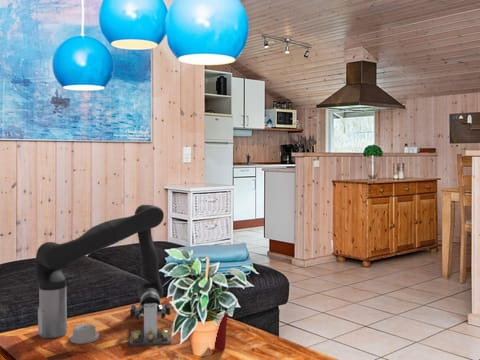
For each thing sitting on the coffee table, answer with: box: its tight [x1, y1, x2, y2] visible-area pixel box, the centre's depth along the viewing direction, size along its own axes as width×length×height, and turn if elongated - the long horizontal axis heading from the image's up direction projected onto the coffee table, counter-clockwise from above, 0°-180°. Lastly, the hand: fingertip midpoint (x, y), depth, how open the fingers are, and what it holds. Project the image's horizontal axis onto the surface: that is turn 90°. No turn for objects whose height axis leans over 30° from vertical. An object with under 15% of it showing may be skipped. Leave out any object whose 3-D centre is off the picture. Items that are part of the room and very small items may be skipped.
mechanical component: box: [69, 323, 100, 345], centre depth 178 cm, size 10×4×10 cm
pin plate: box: [129, 328, 172, 347], centre depth 178 cm, size 14×12×4 cm
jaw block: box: [143, 303, 158, 339], centre depth 178 cm, size 4×4×11 cm
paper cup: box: [214, 312, 228, 352], centre depth 170 cm, size 8×8×14 cm
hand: (150, 316), depth 177 cm, fingers open, 8 cm apart
